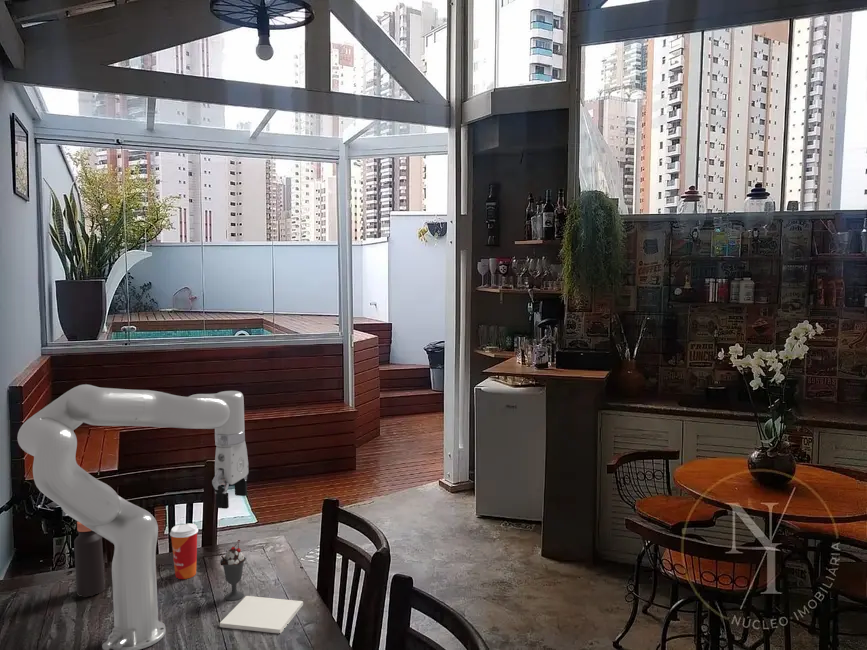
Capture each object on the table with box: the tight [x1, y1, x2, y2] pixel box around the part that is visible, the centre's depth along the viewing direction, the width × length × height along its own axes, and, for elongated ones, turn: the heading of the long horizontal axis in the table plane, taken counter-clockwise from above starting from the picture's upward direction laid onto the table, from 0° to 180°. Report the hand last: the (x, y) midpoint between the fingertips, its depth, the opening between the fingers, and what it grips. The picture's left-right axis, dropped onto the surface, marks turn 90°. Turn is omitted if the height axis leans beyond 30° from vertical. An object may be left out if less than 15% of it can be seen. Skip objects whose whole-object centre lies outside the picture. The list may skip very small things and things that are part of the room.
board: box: [219, 595, 304, 634], centre depth 168 cm, size 14×16×1 cm
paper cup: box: [169, 523, 199, 580], centre depth 191 cm, size 8×8×14 cm
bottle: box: [73, 521, 105, 597], centre depth 181 cm, size 7×7×20 cm
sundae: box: [219, 539, 247, 602], centre depth 178 cm, size 7×7×15 cm
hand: (231, 501), depth 177 cm, fingers open, 9 cm apart
